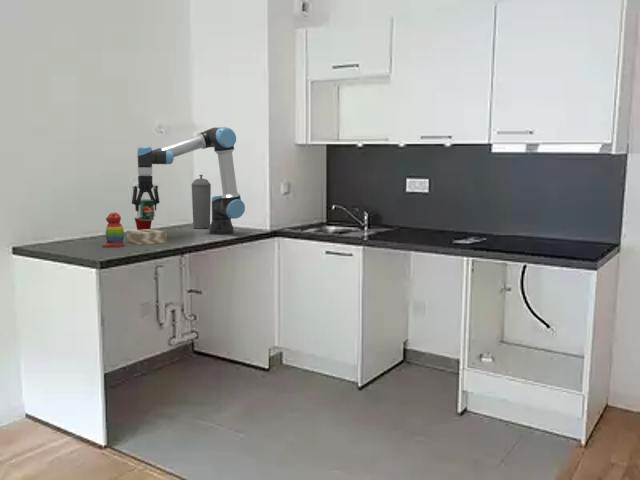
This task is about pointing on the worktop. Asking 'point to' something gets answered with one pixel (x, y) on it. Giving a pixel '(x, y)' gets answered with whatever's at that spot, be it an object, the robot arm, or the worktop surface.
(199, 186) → the canister
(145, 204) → the canned tomato
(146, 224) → the plastic cup
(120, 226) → the stacking bear
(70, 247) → the worktop surface
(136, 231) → the base block
